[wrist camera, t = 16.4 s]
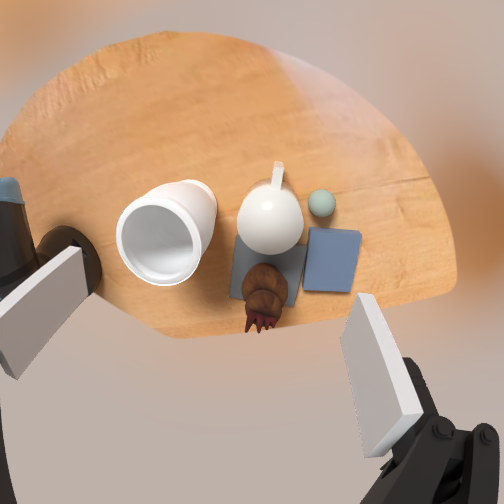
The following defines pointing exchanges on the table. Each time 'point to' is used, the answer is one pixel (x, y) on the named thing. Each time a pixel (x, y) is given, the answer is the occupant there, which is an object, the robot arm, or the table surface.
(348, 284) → the book
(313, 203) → the ball
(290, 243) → the mug
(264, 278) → the wooden figurine
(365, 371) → the robot arm
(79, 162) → the table surface
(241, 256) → the coaster
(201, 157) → the table surface
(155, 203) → the jar
